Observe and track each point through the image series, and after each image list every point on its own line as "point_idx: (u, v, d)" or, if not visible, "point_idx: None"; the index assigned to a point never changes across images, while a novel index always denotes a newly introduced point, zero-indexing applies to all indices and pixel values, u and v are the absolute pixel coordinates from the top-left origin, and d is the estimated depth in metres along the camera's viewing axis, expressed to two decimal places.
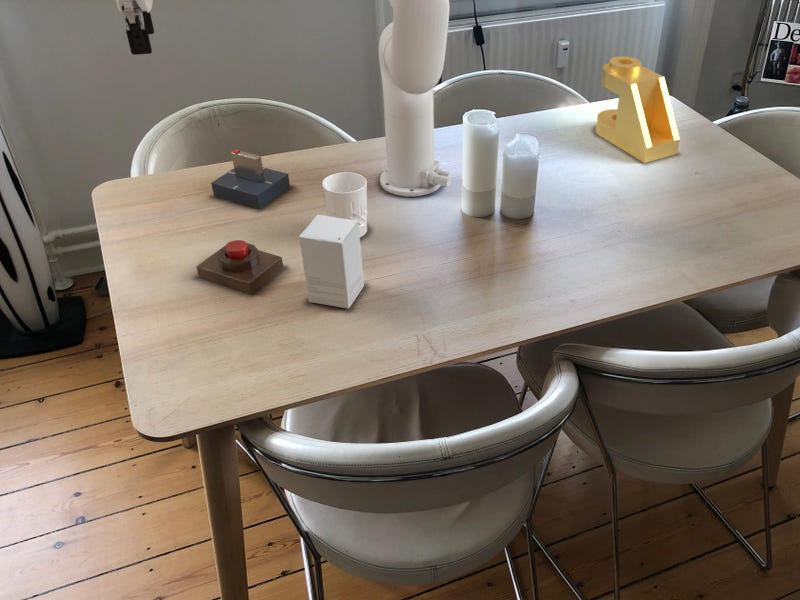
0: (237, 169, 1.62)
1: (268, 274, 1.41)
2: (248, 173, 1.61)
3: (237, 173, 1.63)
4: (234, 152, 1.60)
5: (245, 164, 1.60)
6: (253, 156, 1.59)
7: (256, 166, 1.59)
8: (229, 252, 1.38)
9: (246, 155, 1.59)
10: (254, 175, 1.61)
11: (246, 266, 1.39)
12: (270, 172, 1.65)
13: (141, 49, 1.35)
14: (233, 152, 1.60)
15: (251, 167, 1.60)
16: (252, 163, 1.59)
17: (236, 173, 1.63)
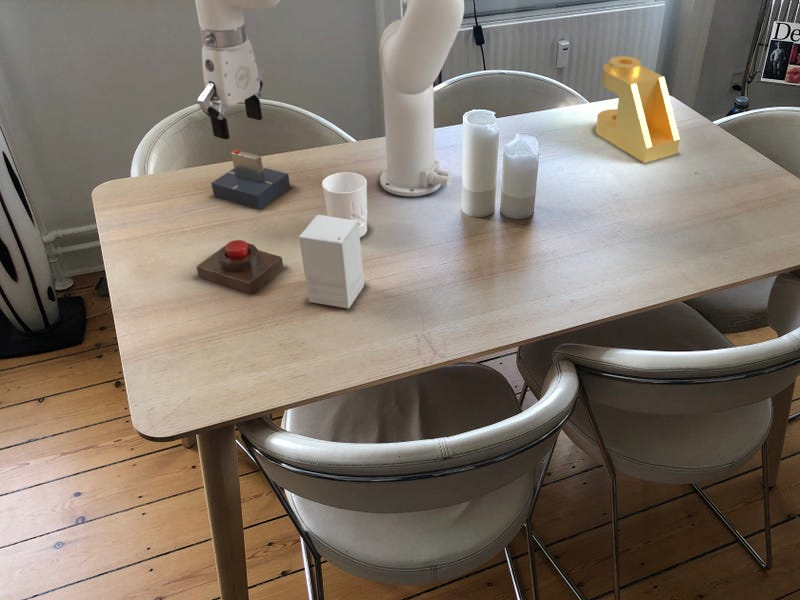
0: (237, 169, 1.62)
1: (268, 274, 1.41)
2: (248, 173, 1.61)
3: (237, 173, 1.63)
4: (234, 152, 1.60)
5: (245, 164, 1.60)
6: (253, 156, 1.59)
7: (256, 166, 1.59)
8: (229, 252, 1.38)
9: (246, 155, 1.59)
10: (254, 175, 1.61)
11: (246, 266, 1.39)
12: (270, 172, 1.65)
13: (218, 134, 1.51)
14: (233, 152, 1.60)
15: (251, 167, 1.60)
16: (252, 163, 1.59)
17: (236, 173, 1.63)
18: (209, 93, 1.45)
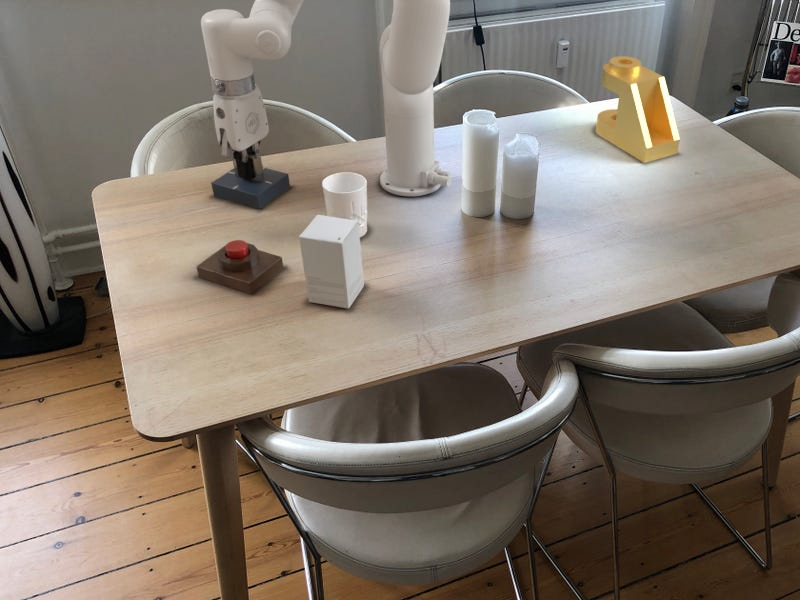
0: None
1: (268, 274, 1.41)
2: None
3: (237, 173, 1.63)
4: None
5: None
6: (253, 156, 1.59)
7: (256, 166, 1.59)
8: (229, 252, 1.38)
9: None
10: (254, 175, 1.61)
11: (246, 266, 1.39)
12: (270, 172, 1.65)
13: (242, 175, 1.60)
14: None
15: None
16: (252, 163, 1.59)
17: (236, 173, 1.63)
18: (228, 145, 1.53)
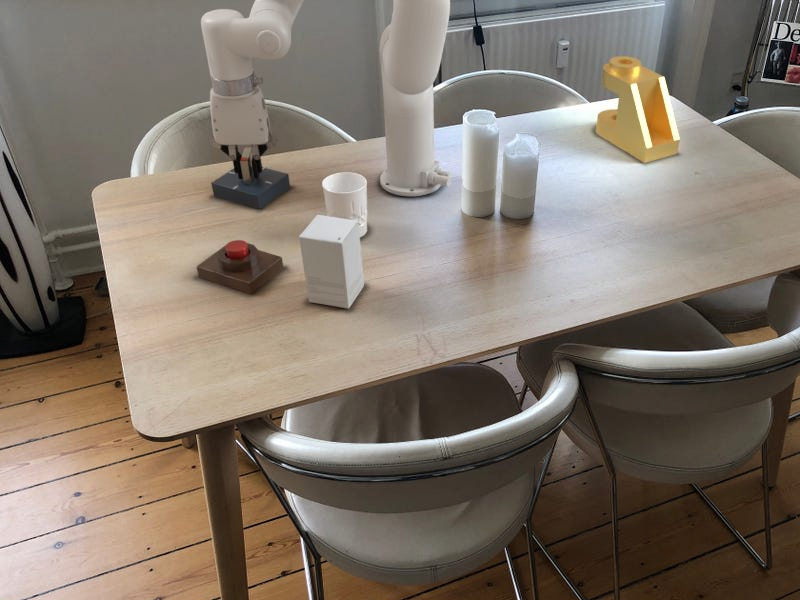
0: (250, 175, 1.60)
1: (268, 274, 1.41)
2: (252, 170, 1.62)
3: (251, 180, 1.61)
4: (247, 159, 1.58)
5: (251, 163, 1.61)
6: (247, 150, 1.61)
7: None
8: (229, 252, 1.38)
9: (248, 153, 1.60)
10: None
11: (246, 266, 1.39)
12: (270, 172, 1.65)
13: None
14: (247, 159, 1.58)
15: None
16: (251, 155, 1.62)
17: (251, 181, 1.60)
18: None
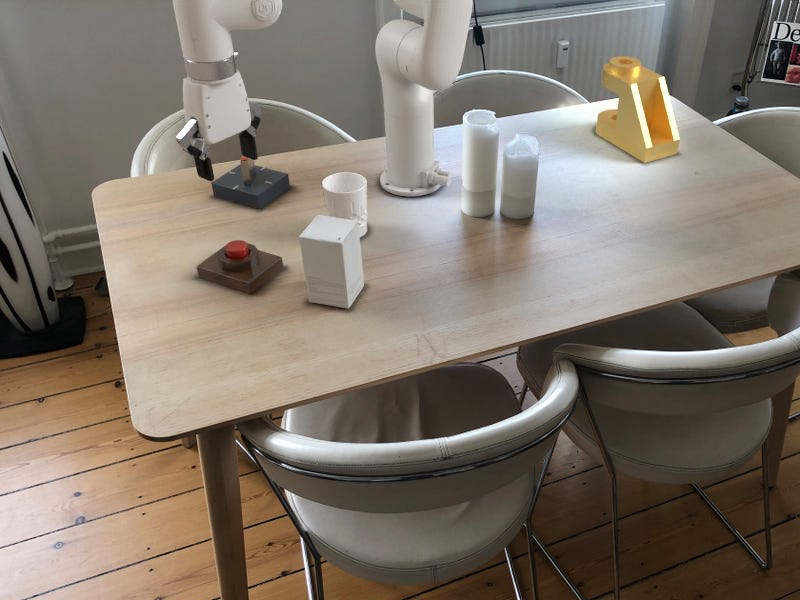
0: (250, 175, 1.60)
1: (268, 274, 1.41)
2: (252, 170, 1.62)
3: (251, 180, 1.61)
4: (247, 159, 1.58)
5: (251, 163, 1.61)
6: None
7: None
8: (229, 252, 1.38)
9: None
10: (253, 167, 1.63)
11: (246, 266, 1.39)
12: (270, 172, 1.65)
13: None
14: (247, 159, 1.58)
15: (252, 161, 1.62)
16: None
17: (251, 181, 1.60)
18: None
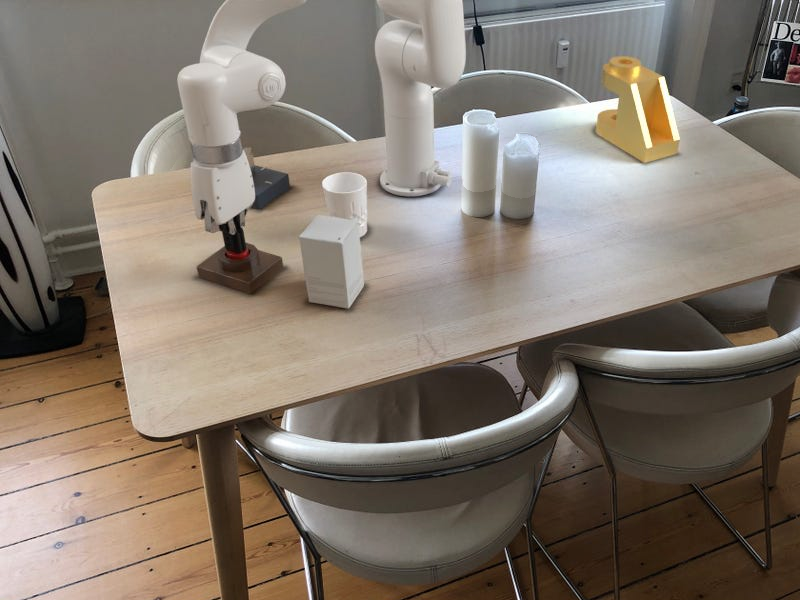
0: None
1: (268, 274, 1.41)
2: (252, 170, 1.62)
3: None
4: (247, 159, 1.58)
5: (251, 163, 1.61)
6: (247, 150, 1.61)
7: (252, 155, 1.63)
8: (230, 256, 1.39)
9: (248, 153, 1.60)
10: (253, 167, 1.63)
11: (246, 266, 1.39)
12: (270, 172, 1.65)
13: None
14: (247, 159, 1.58)
15: (252, 161, 1.62)
16: (251, 155, 1.62)
17: None
18: None
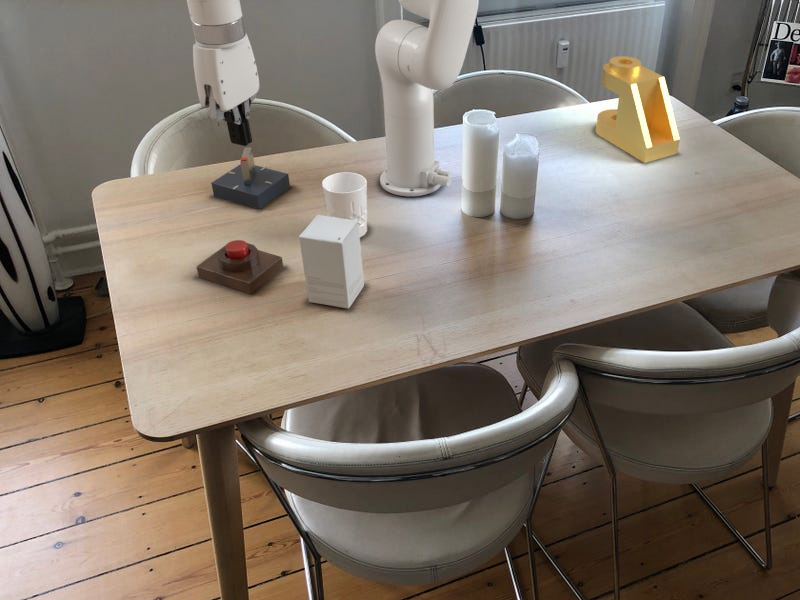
0: (250, 175, 1.60)
1: (268, 274, 1.41)
2: (252, 170, 1.62)
3: (251, 180, 1.61)
4: (247, 159, 1.58)
5: (251, 163, 1.61)
6: (247, 150, 1.61)
7: (252, 155, 1.63)
8: (229, 252, 1.38)
9: (248, 153, 1.60)
10: (253, 167, 1.63)
11: (246, 266, 1.39)
12: (270, 172, 1.65)
13: None
14: (247, 159, 1.58)
15: (252, 161, 1.62)
16: (251, 155, 1.62)
17: (251, 181, 1.60)
18: None
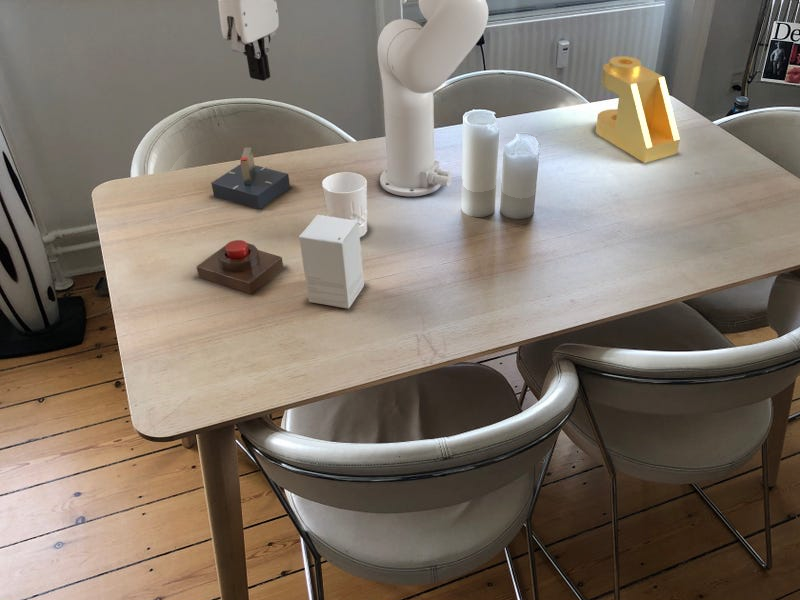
0: (250, 175, 1.60)
1: (268, 274, 1.41)
2: (252, 170, 1.62)
3: (251, 180, 1.61)
4: (247, 159, 1.58)
5: (251, 163, 1.61)
6: (247, 150, 1.61)
7: (252, 155, 1.63)
8: (229, 252, 1.38)
9: (248, 153, 1.60)
10: (253, 167, 1.63)
11: (246, 266, 1.39)
12: (270, 172, 1.65)
13: None
14: (247, 159, 1.58)
15: (252, 161, 1.62)
16: (251, 155, 1.62)
17: (251, 181, 1.60)
18: None
